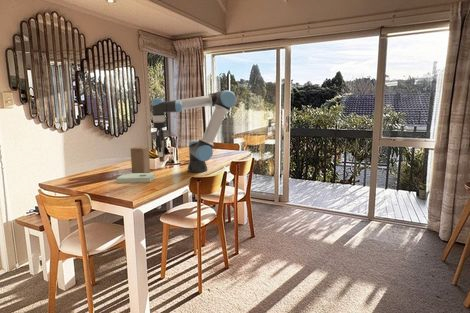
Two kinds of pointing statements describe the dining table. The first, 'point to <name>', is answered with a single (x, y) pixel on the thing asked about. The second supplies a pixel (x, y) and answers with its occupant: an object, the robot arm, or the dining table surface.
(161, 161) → the walnut peg
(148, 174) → the board
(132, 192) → the dining table surface
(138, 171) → the wooden block
